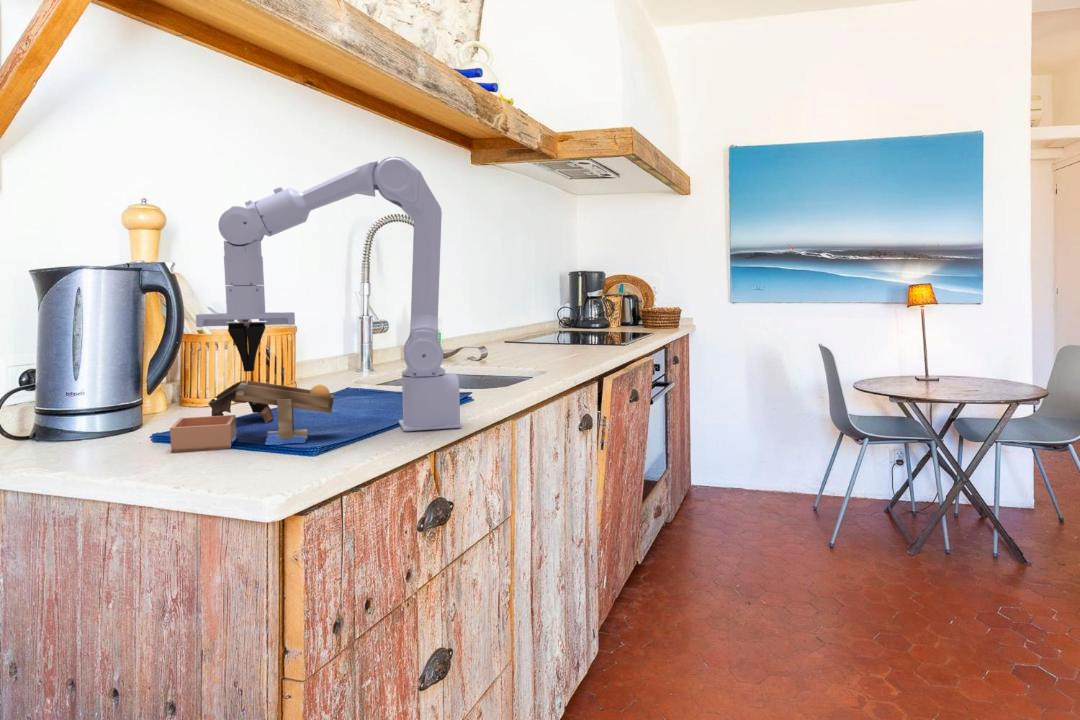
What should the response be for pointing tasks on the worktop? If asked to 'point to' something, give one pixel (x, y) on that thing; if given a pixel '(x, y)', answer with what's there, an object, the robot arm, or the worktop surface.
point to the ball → (320, 390)
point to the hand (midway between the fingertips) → (249, 370)
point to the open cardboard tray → (203, 433)
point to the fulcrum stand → (287, 421)
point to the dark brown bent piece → (229, 395)
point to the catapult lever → (283, 396)
